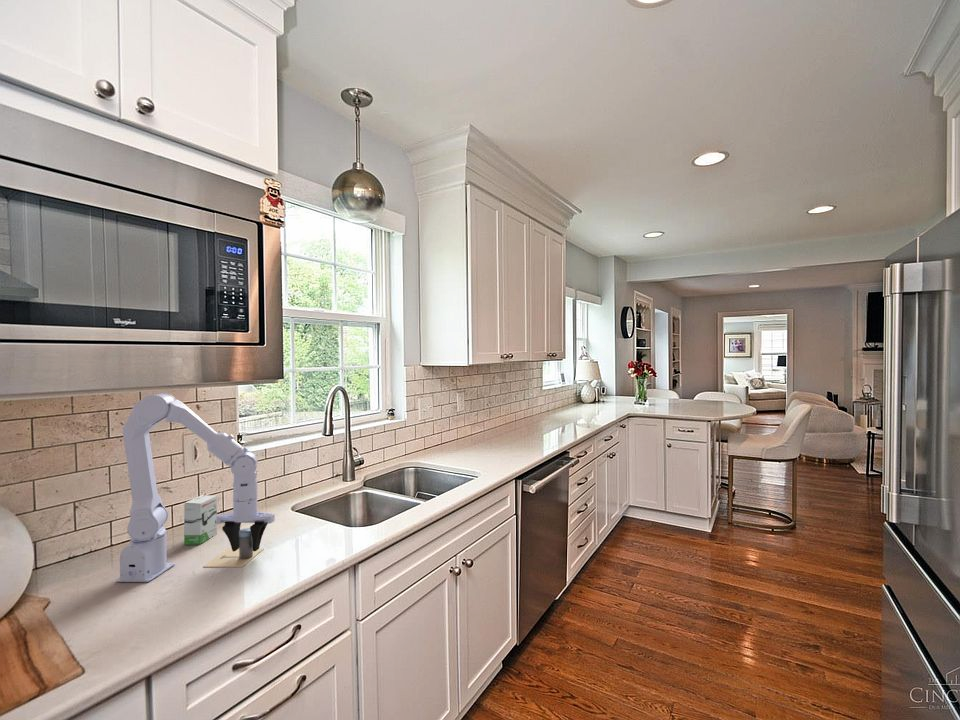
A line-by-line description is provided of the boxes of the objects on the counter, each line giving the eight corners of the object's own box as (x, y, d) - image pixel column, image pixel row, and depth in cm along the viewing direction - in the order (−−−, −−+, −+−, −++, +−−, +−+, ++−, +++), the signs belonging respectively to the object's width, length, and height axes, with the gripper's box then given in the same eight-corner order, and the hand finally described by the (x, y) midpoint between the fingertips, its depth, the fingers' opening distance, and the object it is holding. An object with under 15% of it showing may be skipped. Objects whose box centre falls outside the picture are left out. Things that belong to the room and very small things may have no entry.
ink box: (200, 545, 131) (199, 503, 131) (183, 545, 131) (182, 503, 131) (218, 533, 140) (217, 494, 140) (202, 533, 140) (201, 494, 140)
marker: (249, 559, 121) (248, 532, 121) (236, 559, 121) (236, 532, 121) (255, 554, 124) (255, 528, 124) (243, 554, 124) (242, 528, 124)
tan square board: (242, 567, 117) (242, 566, 117) (203, 567, 117) (203, 566, 117) (263, 549, 128) (263, 548, 128) (227, 549, 128) (227, 548, 128)
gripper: (279, 493, 126) (279, 543, 126) (226, 494, 127) (227, 543, 127) (267, 501, 119) (267, 554, 119) (211, 502, 119) (211, 554, 120)
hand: (245, 549), depth 122 cm, fingers open, 5 cm apart
